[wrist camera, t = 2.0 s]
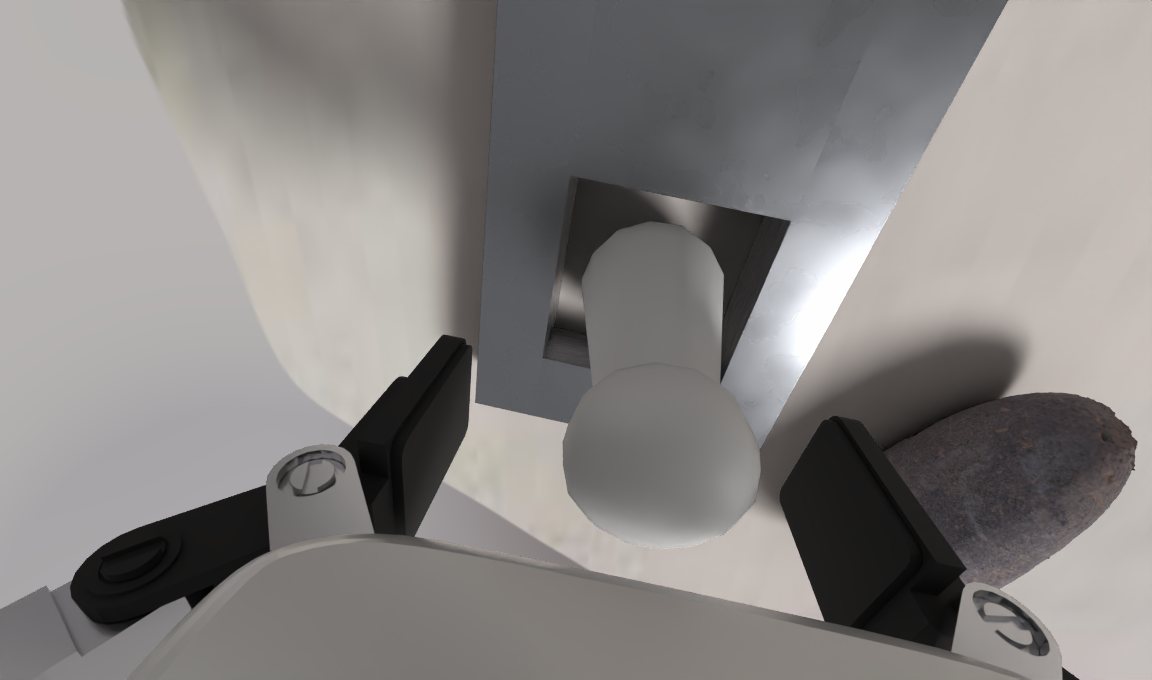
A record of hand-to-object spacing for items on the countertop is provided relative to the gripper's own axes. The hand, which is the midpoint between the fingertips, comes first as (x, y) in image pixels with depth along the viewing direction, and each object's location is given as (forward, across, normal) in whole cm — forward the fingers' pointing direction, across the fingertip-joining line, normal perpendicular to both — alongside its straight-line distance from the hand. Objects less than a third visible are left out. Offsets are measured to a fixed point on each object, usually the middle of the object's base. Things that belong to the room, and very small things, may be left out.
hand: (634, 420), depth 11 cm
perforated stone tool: (+10, -17, +7) cm, 21 cm away
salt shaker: (+10, -1, -1) cm, 10 cm away
